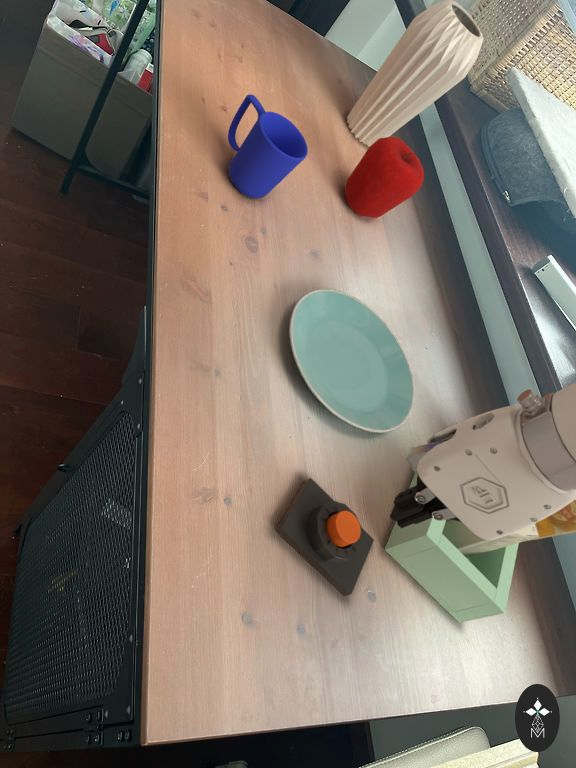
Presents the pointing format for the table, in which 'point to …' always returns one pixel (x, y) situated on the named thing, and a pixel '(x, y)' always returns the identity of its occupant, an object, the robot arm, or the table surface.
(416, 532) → the mint green storage bin
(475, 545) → the cosmetic box
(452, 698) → the table surface
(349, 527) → the button
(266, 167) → the mug
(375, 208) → the apple
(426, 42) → the vase
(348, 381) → the plate
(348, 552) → the block
